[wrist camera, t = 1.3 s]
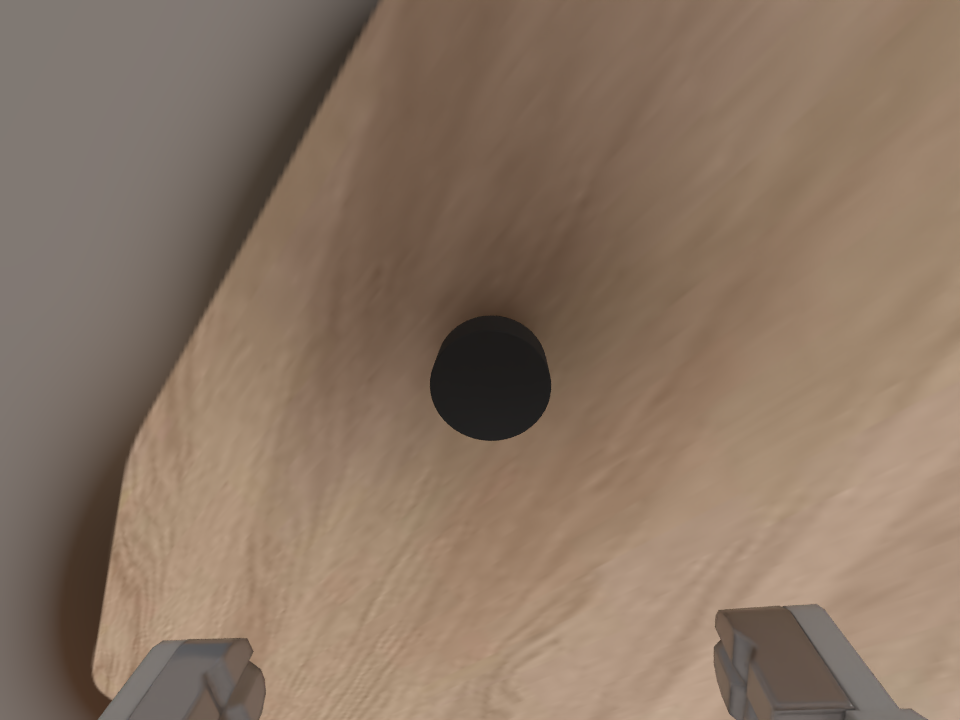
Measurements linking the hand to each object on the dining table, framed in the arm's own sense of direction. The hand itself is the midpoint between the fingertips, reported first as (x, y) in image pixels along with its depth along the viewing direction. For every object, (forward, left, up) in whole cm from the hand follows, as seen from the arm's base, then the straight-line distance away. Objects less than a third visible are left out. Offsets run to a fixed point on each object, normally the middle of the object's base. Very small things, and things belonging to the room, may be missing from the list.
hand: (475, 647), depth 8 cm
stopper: (0, 0, -16) cm, 16 cm away
